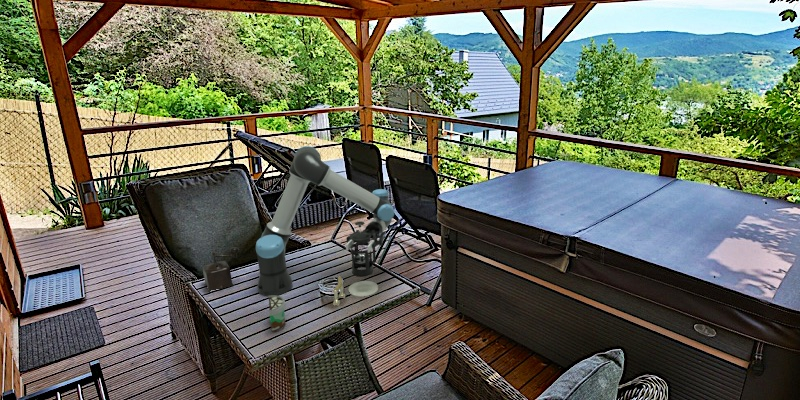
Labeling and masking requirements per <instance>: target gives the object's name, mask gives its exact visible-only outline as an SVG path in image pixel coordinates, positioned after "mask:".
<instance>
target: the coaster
mask: <svg viewBox="0 0 800 400" xmlns="http://www.w3.org/2000/svg"><path fill="white" fill-rule="evenodd" d="M378 291H379V285H378V284H377V283H376V282H374V281H371V280H370V281H369V280H361V281H355V282H354V283H352V284H350V285H349V286H348V292H350V293H349V294H350V295H352V296H353V297H362V298H365V297H370V296H373V295H374V294H376V293H377V292H378ZM369 295H370V296H369ZM364 296H365V297H364Z"/></svg>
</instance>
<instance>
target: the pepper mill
mask: <svg viewBox="0 0 800 400" xmlns="http://www.w3.org/2000/svg"><path fill="white" fill-rule="evenodd" d="M229 251H230V253H231V254H216V252H215V251H213V252H212V258H213V262H211V263H209V264H206V265H205V264H204V265H202V272H203V278H204V284H205V283H206V284H205V286H206V285H207V287H208V289H209V290H210V291H211V290H216V289H222V290H224V289H223V288H225V289H227V288H226V287H228V288H230V286H231V287H233V286H234V284H233V278H232V272H231V268H230V266H229V264H228V263H227V261H226V260H222V261H217V260H216V257H217V258H225V257H226V258H227V257H228V258H233V259H235V258H237V257H238V253H239V252H240V249H239V247H236V246H232V247H230V250H229ZM207 287H206V288H207ZM208 289H207V290H208Z"/></svg>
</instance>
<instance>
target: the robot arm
mask: <svg viewBox="0 0 800 400" xmlns="http://www.w3.org/2000/svg"><path fill="white" fill-rule="evenodd" d="M288 172H289V174H290V176H289V178H288V182H287V184H286V186H285V189H284V191H283V194H282V196H281V198H280V201H279V203H278V206H277V208H276V211H275V212H274V215H273V218H272V220H271V221H269V222H268V223H266V225H265V228H264V231H263V232H262V234H261V236H260V238H259V239H257V241H256V242H255V243H256V244H255V252H256V256H257V263H258V271H259V277H258V282H257V291H258V293H259V294H260V295H262V296H264V297H268V296H271V295H276V296H280V295H283V294H286V293H288V292H289V291H291V290H292V288H293V285H294V284H293V279H292V277H291V275H290V274H289V273H290V272H288V270H287V261H286V246H287V243H288V242H289V239H290V237H291V235H292V230H291V229H290V228H291V225H292V223H293V221H294V218H295V216H296V214H297V213H298V212H297V211H298V209H299V206H300V204H301V202H302V199H303V197H304V195H305V192H306V191H307V189H308V188H307V187H308V185H309V183H312V184H314V185H316V186H318V187H319V186H323V187H325V188H327V189H329V190H330V191H331V192H334V193H336V194H338V195H340V196H341V197H343V198H345V199H347V200H349V201H350V202H352V203H354V204H356V205H358V206H359V207H361V208H363V209H365V210H366V211H368V212H371V213H372V215H373V219H372V220H371V221H370V222H369V223H368V224H367V225H366V226H365V228H364V230H362V231H361V232H367V233H369V234H371V238H370V242H369V245H368V246H366V247H367V249H366V250H368V253H369V252H370V251H371V252H372V251H373V248H375V249H376V247H377V246H383V243H384V239H385V238H386V232H385V231H386V229H387V228H389V226H390V225H391V223H392V220H393V219H394V216H395V210H394V207H393V206H392V204H391V202H390V200H389V192H388V190H387V189H385V188H383V189H382V188H379V189H375V190H373V191H372V192H370V191H369V190H367V189H365V188H363V187H361V186H360V185H358V184H356V183H355V182H353V181H351V180H349V179H348V178H346V177H344V176H342V175H341V174H339V173H338V172H335V171H334V170H333V169H331V167H330V166H329V165H328V164H326V163H324V162H323V160H322V157H321V154H320V152H319V151H318V150H317V149H316V148H315V147H313V146H311V145H310V146H309V145H306V146H302V147H299V148H298V149H297V150H296V151H295V152H294V156H293V160H292V163H291V165H290V168H289V171H288ZM357 232H360V229H356V231H354V232H353V233H351V234H349V235H348V236H346V237H345V238H346V244H345V250H346V251H349V250H351V246H352V245H353V244H355V243H356V242H355V241H354V240H351V239H350V236H351V235H352V234H354V233H357Z"/></svg>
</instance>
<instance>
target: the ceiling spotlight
mask: <svg viewBox="0 0 800 400" xmlns="http://www.w3.org/2000/svg"><path fill="white" fill-rule="evenodd" d="M344 288H345V287H344V285H343V279H342V276H341V275H340V276H338V277H337V285H336V286H335V287H334V288H333V296H334V300H333V303H332V304H333V305H334V307H335V305H337V306H340V304H341V300H339V298H346V293H344V290H345V289H344ZM339 289H340V292H337V291H338V290H339ZM343 289H344V290H343ZM338 293H339V294H338Z"/></svg>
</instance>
